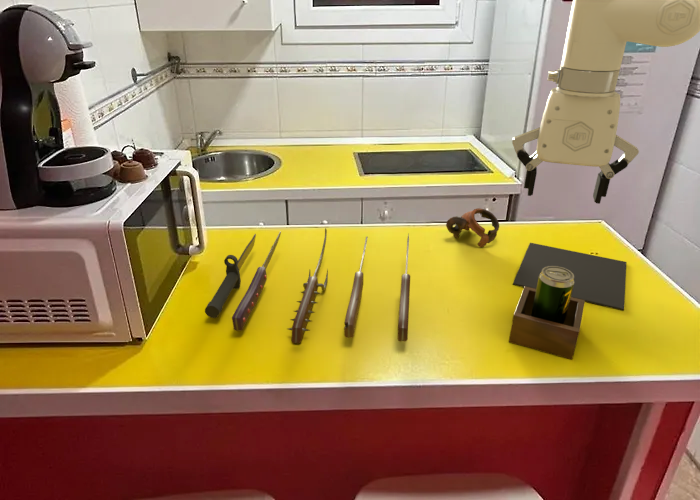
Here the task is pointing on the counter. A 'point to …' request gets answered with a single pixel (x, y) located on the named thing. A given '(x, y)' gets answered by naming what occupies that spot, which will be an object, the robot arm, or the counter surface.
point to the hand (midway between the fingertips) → (562, 196)
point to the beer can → (553, 294)
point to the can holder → (546, 327)
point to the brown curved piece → (474, 225)
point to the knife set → (309, 295)
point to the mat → (577, 274)
